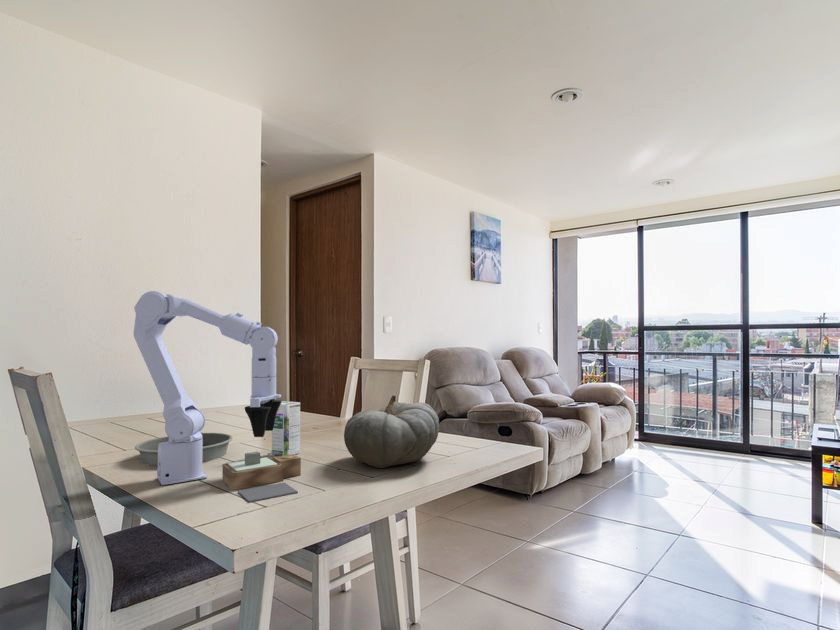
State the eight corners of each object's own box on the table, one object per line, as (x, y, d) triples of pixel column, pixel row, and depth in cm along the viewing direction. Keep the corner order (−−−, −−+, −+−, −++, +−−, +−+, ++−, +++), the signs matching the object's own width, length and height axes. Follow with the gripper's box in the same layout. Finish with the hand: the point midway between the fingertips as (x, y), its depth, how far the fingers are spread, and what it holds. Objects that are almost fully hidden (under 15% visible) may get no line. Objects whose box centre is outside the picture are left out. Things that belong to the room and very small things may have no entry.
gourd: (463, 449, 129) (450, 384, 129) (397, 487, 111) (382, 412, 111) (397, 445, 146) (385, 388, 146) (330, 478, 128) (317, 413, 128)
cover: (236, 474, 107) (236, 459, 107) (227, 466, 114) (227, 452, 114) (277, 467, 112) (277, 453, 112) (266, 460, 119) (266, 447, 119)
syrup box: (270, 455, 137) (270, 402, 137) (285, 451, 142) (285, 400, 142) (286, 457, 134) (286, 404, 135) (301, 453, 139) (300, 401, 140)
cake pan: (210, 443, 155) (210, 429, 155) (248, 455, 138) (248, 439, 138) (122, 458, 137) (122, 441, 138) (153, 474, 120) (153, 455, 121)
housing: (233, 490, 106) (233, 471, 106) (222, 479, 114) (222, 461, 114) (304, 477, 115) (304, 459, 115) (289, 468, 123) (289, 451, 123)
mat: (249, 502, 98) (249, 500, 98) (238, 492, 104) (238, 490, 104) (297, 492, 103) (297, 491, 103) (284, 483, 110) (284, 482, 110)
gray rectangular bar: (267, 463, 129) (267, 450, 129) (275, 462, 130) (275, 449, 130) (279, 471, 122) (279, 457, 122) (287, 469, 123) (287, 455, 123)
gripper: (272, 379, 112) (272, 439, 112) (288, 374, 127) (288, 427, 126) (241, 379, 112) (240, 440, 111) (260, 374, 126) (260, 428, 126)
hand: (263, 433), depth 119 cm, fingers open, 7 cm apart
